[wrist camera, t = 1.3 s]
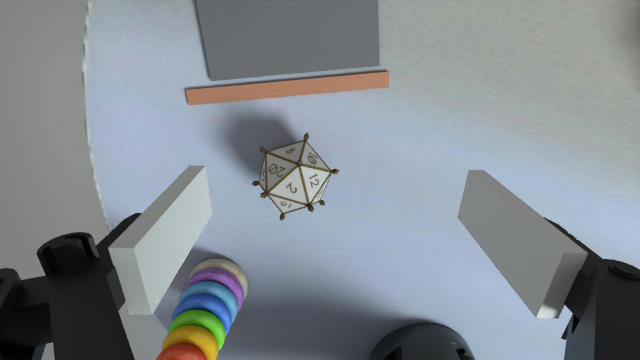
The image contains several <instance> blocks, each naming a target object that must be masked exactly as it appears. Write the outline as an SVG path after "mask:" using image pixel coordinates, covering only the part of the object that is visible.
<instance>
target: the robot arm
mask: <svg viewBox="0 0 640 360" xmlns="http://www.w3.org/2000/svg"><path fill="white" fill-rule="evenodd" d="M211 215H212V210H211V203H210V196H209V189H208V182H207V175H206V168H205V166H189V167H188V168H187V169H186V170H185V171H184V172H183V173H182V174H181V175H180V176H179V177H178V178H177V179H176V180H175V181H174V182H173V183H172V184H171V185H170V186H169V187H168V188H167V189H166V190H165V191H164V192H163V193H162V194H161V195H160V196H159V197H158V198H157V199H156V200H155V201H154V202H153V203H152V204H151V205H150V206H149V207H148V208H147V209H146V210H145V211H144V212H143V213H135V214H133V215H131V216H130V217H128V218H126V219H124V220H123V221H122V222H121V223H120V224H119V225H118V226H117V227H116V229H113V230H112V231H111V232H110V233H109V235H107V236H106V237H105V238H104V239H103V240H102V241H101V242H100V243H99V244H98V245H96V246H95V243H94V240H93V237H92V236H91V235H90V234H89V233H84V232H77V233H70V234H65V235H62V236H59V237H56V238H53V239H52V240H50V241H48V242H46V243H44V244H43V245H42V246H41V247H40V248H39V249H38V251H37V256H38V258H39V261H40V263H41V265H42V267H43V270H44V272H45V274H46V276H41V277H36V278H30V279H25V280H21V279H20V277H19V275H18V273H17V272H16V271H15V270H14V269H9V268H3V269H0V360H41V358H42V355H43V352H44V348H45V345H46V344H47V343H51V342H53V345H54V355H55V360H135V359H134V356H133V353H132V350H131V348H130V345H129V342H128V339H127V336H126V333H125V330H124V327H123V325H122V321H121V318H120V315H119V313H118V311H119V310H120V308H121V307H122V305H123V304H124V303H126V306H127V309H128V313H129V315H152V314H153V313H154V311H155V309H156V308H157V306H158V304H159V303H160V301H161V299H162V298H163V296H164V294H165V292H166V291H167V289H168V287H169V286H170V284H171V282H172V281H173V279H174V277H175V276H176V274H177V272H178V271H179V269H180V267H181V266H182V264H183V262H184V261H185V259H186V257H187V255H188V254H189V252H190V250H191V249H192V247H193V245H194V244H195V242H196V240H197V239H198V237H199V235H200V234H201V232H202V230H203V229H204V227H205V225H206V224H207V222H208V220H209V218H210V217H211ZM458 219H459V220H460V221H461V222H462V224H463V225H464V226H465V228H466V229H467V230H468V231H469V233H470V234H471V235H472V236H473V238H474V239H475V240H476V242H477V243H478V244H479V245H480V247H481V248H482V249H483V251H484V252H485V253H486V254H487V256H488V257H489V258H490V260H491V261H492V262H493V263H494V265H495V266H496V267H497V269H498V270H499V271H500V272H501V274H502V275H503V276H504V278H505V279H506V280H507V281H508V283H509V284H510V285H511V286H512V288H513V289H514V290H515V292H516V293H517V294H518V295H519V297H520V298H521V299H522V301H523V302H524V303H525V304H526V306H527V307H528V308H529V310H530V311H531V312H532V313H533V315H534V316H535V317H536V318H559V315H560V313H561V311H562V309H563V307H564V305H566V307H567V308H568V309H569V310H570V311H571V312H572V313H573V315H572V317H571V319H570V321H569V323H568V325H567V327H566V329H565V331H564V333H563V335H562V337H561V338H562V339H564V340H565V339H566V338H567V341H566V348H565V356H564V360H640V270H639V269H638V268H636V267H634V266H632V265H629V264H627V263H624V262H621V261H617V260H611V259H602V258H601V257H600V256H598V255H597V254H596V253H594V252H593V251H592V250H591V249H589V248H588V247H587V246H585V245H584V244H583V243H582V242H580V241H579V240H576V238H575V237H574V236H572V235H571V234H568V232H567V231H566V230H565V229H563V228H562V227H561V226H560V225H558V224H556V223H554V222H552V221H550V220H548V219H546V218H543V217H542V216H541V215H539V214H538V213H537V212H536V211H534V210H533V209H532V208H531V207H529V206H528V205H527V204H526V203H524V202H523V201H522V200H521V199H519V198H518V197H517V196H516V195H514V194H513V193H512V192H511V191H509V190H508V189H507V188H506V187H504V186H503V185H502V184H501V183H499V182H498V181H497V180H495V179H494V178H493V177H492V176H490V175H489V174H488V173H487V172H485V171H484V170H469V171H468V175H467V179H466V184H465V188H464V192H463V197H462V201H461V205H460V209H459V214H458ZM370 360H475V358H474V355H473V354H472V352H471V350H470V348H469V346H468V344H467V343H466V341H465V340H464V339H463V338H462V337H461V336H460V335H459V334H458V333H457V332H455V331H453V330H451V329H449V328H447V327H444V326H441V325H436V324H415V325H410V326H406V327H403V328H400V329H398V330H396V331H394V332H392V333H391V334H389V335H388V336H386V337H385V338H384V339H383V340H382V341H381V342H380V343H379V344H378V345H377V346H376V348H375V349H374V351H373V353H372V355H371V358H370Z"/></svg>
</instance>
